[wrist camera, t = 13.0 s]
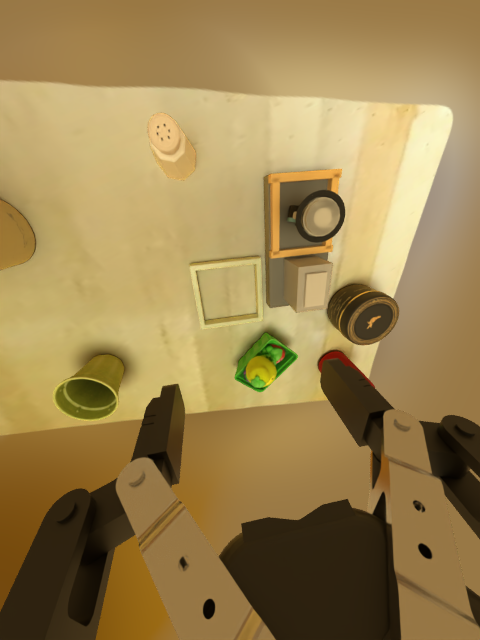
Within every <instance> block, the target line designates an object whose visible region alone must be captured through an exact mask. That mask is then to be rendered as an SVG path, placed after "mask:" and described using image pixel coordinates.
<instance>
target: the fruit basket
mask: <svg viewBox="0 0 480 640" xmlns="http://www.w3.org/2000/svg"><path fill="white" fill-rule="evenodd" d="M297 358H298V355H297V354H296V353H295V352H293V351H292V350H290V349H289V348H288V347H286V346H285V345H284V344H283V343H281V342H279V341H278V340H277V339H275V338H274V337H273V336H270V335H269V334H268V333H266V332H265V333H264V334H263V335H262V336H261V338H260V339H259V340H258V341H257V342H256V343H255V344H254V345H253V347H252V348H251V349H249V350H248V351H247V353H246V354H245V356H243V357H242V358H241V359H240V360H239V362H238V367H237V372H236V374H235V380H237V381H239V382H241V383H242V384H244V385H246V386H248V387H250V388H252V389H253V390H255V391H257V392H263V391H264V390H265V389H266V388H267V387H268V386H269V385H270V384H271V383H272V382H273V381H274V380H276V379H277V378H278V377H279V376H280V375H281V374H282V373H283V372H284V371H285V370H286V369H287V368H288V367H289V366H290V365H291V364H292V363H293V362H294V361H295V360H296V359H297Z"/></svg>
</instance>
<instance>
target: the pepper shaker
mask: <svg viewBox="0 0 480 640" xmlns="http://www.w3.org/2000/svg"><path fill="white" fill-rule="evenodd" d="M148 135H149V138H150V147H151V150H152V152H153V155H154V157H155V159H156V162H157V164H158V165H159V166H160V167H161V169H162V170H163V171H164V173H165V174H166V175H167V177H168V178H173V179H178V180H183V181H184V180H185V179H186V178H187V177H188V176H189V175H190V174H191V173H193V172H194V171H195V159H196V151H195V150H194V148H193V147H192V145H191V143H190V142H189V140H188V139H187V137H186V136H185V134H184V133H183V131H182V130H181V128H180V127H179V125H178V124H177V122H176V121H175V120H173V119H172V118H171V117H170V116H169V115H167V114H165V113H157V114H155V115H153V116H152V117H151V118H150V120H149V122H148Z"/></svg>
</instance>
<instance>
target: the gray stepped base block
mask: <svg viewBox="0 0 480 640" xmlns="http://www.w3.org/2000/svg"><path fill="white" fill-rule="evenodd" d="M341 174H342V169H331V170H317V171H304V172H290V173H277V174H270V175H268V176H266V177H264V210H265V257H266V303H267V304H268V306H269V307H270V308H274V307H281V306H288V305H290V306H291V307H292V308H293V310H294V311H295V312H296V313H298V312H306V311H313V310H320V309H327V307H328V299H329V291H330V283H331V274H332V266H333V263H331V262H329V261H327V259H328V252H332V249H333V245H332V238H330V239H329V240H327V241H324V242H320V243H314V242H310V241H307V240H305V239H304V238H303V237H302V236H301V235H300V234H299V232H298V230H297V227H296V225H295V223H296V222H289V221H287V218H288V213H289V207H290V205H297V206H299V205H300V204H301V202H302V201H303V200H304V199H305V198H306V197H307V196H308V195H310V194H311V193H313V192H316V191H319V190H330V191H333V192H335V193H336V194H338V185H339V178H341ZM318 198H321V197H316V198H314V199H313V200H311V201H310V202H309V203H308V204H310V203H311V202H312V201H314V200H315V199H318ZM304 231H305V232H306V233H307V234H308V235H310V236H313V235H311V234H309V233H308V232H307V231H306V230H305V229H304Z"/></svg>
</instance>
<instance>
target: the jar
mask: <svg viewBox="0 0 480 640" xmlns="http://www.w3.org/2000/svg"><path fill="white" fill-rule="evenodd" d="M328 316H329V319H330V321H331V323H332V324H333V326H334V327H335V328H336V329H338V330H339V331H340V332H341V333H342V335H343V336H344V337H346V338H347V339H348V340H350V341H351V342H353V343H355V344H357V345H369V344H373V343H376V342H378V341H380V340H381V339H383V338H384V337H385V336H387V335H388V334H389V333H390V332H391V330H392V329H393V328H394V326H395V324H396V322H397V320H398V316H399V307H398V305H397V303H396V301H395V300H394V299H393V298H391V297H390V296H388V295H386V294H385V293H383V292H380V291H377V290H374V289H372V288H370V287H368V286H365V285H350V286H347V287H344V288H343V289H341V290H340V291H338V292H337V293H336V294H335V295H334V296H333V298H332V299H331V301H330V303H329V306H328Z"/></svg>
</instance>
